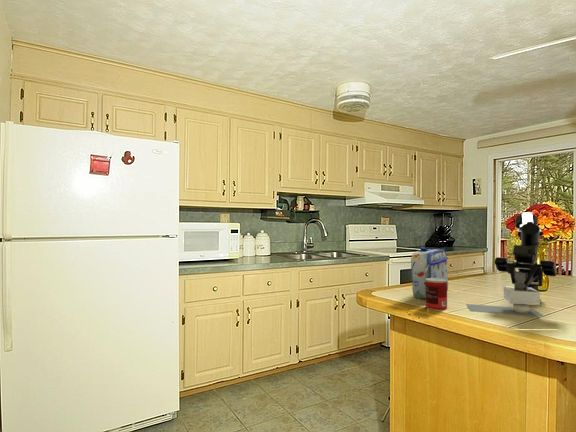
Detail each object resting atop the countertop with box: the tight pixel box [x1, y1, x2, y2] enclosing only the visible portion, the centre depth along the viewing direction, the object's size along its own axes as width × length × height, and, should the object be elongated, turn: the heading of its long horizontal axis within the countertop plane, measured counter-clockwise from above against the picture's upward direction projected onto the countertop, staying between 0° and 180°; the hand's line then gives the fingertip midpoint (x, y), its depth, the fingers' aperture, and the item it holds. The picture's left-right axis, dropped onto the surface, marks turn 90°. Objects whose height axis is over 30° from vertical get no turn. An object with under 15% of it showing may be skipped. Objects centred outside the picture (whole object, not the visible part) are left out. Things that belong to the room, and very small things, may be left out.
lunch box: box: [410, 246, 449, 300], centre depth 153 cm, size 28×10×22 cm, turn 142°
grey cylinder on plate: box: [503, 271, 541, 306], centre depth 126 cm, size 9×9×10 cm
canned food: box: [425, 278, 448, 311], centre depth 132 cm, size 8×8×11 cm
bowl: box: [512, 303, 530, 313], centre depth 125 cm, size 5×5×3 cm
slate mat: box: [465, 303, 546, 318], centre depth 127 cm, size 23×12×1 cm, turn 70°
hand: (519, 284), depth 125 cm, fingers closed on grey cylinder on plate, 4 cm apart
